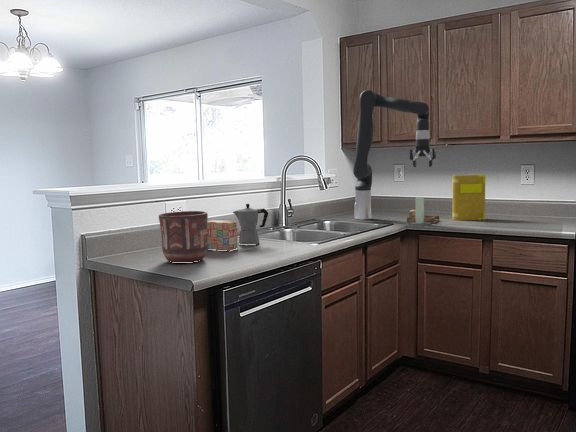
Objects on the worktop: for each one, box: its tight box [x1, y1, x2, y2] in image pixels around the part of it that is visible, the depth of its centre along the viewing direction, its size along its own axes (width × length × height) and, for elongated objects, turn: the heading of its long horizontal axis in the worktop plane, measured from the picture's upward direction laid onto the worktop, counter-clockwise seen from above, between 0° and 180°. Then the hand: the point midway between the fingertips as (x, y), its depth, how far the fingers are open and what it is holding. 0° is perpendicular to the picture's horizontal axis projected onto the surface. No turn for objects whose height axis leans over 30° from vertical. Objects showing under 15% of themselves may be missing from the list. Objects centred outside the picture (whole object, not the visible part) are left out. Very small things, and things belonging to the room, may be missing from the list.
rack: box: [406, 214, 440, 225], centre depth 286 cm, size 15×12×3 cm
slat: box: [415, 196, 425, 224], centre depth 276 cm, size 4×4×14 cm
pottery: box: [158, 210, 209, 262], centre depth 192 cm, size 18×18×18 cm
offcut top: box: [408, 209, 416, 217], centre depth 288 cm, size 4×8×2 cm, turn 155°
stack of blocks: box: [207, 219, 239, 251], centre depth 216 cm, size 21×6×12 cm, turn 61°
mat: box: [408, 222, 432, 226], centre depth 277 cm, size 10×8×1 cm
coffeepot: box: [232, 203, 269, 244], centre depth 226 cm, size 15×9×18 cm, turn 92°
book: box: [451, 174, 487, 221], centre depth 290 cm, size 17×7×25 cm, turn 84°
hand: (422, 167), depth 294 cm, fingers open, 8 cm apart
